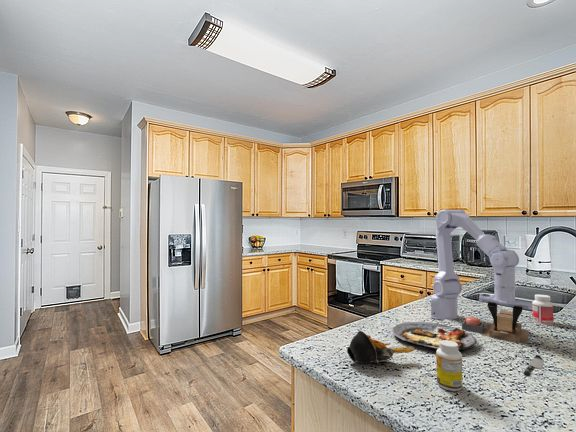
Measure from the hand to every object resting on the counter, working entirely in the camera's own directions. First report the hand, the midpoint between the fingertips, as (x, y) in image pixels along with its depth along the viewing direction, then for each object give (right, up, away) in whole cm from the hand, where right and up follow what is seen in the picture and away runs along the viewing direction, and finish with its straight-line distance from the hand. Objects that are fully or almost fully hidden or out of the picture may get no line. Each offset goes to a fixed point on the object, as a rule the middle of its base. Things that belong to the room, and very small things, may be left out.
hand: (504, 327), depth 104 cm
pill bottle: (+24, -4, +14) cm, 28 cm away
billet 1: (+5, -3, +6) cm, 9 cm away
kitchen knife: (-4, -4, -19) cm, 20 cm away
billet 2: (0, -2, 0) cm, 2 cm away
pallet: (+2, -4, +3) cm, 6 cm away
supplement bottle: (-34, -4, -29) cm, 45 cm away
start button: (-7, -3, +7) cm, 10 cm away
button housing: (-7, -4, +7) cm, 10 cm away
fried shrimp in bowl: (-47, -4, -16) cm, 50 cm away
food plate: (-24, -5, 0) cm, 25 cm away
